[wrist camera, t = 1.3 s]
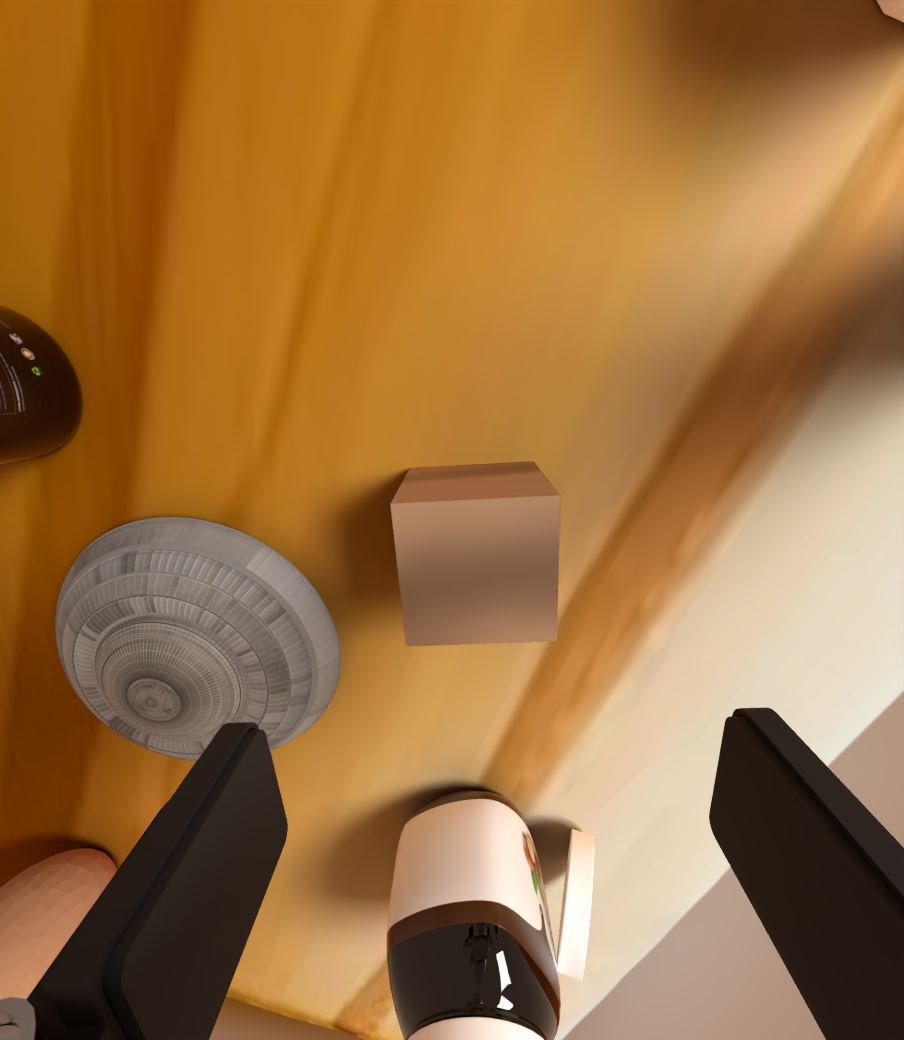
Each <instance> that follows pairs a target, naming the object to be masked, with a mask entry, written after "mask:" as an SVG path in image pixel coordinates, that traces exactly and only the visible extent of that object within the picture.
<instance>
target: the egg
mask: <svg viewBox="0 0 904 1040" xmlns="http://www.w3.org/2000/svg"><path fill="white" fill-rule="evenodd" d="M116 872H117V868H116V866H115V864H114V862H113V861H112V860H111V859H110V858H109V857H108V856H107V855H106V854H105V853H104V852H101V851H98V850H95V849H86V848H80V849H74V850H69V851H66V852H62V853H59V854H56V855H53V856H51V857H49V858H47V859H45V860H43V861H41V862H38V863H36V864H34V865H32V866H30V867H29V868H27V869H26V870H24V871H22V872H21V873H19V874H18V875H17V876H15V877H14V878H12V879H11V880H10V881H8V882H7V883H6V884H5V885H3V886H2V887H1V888H0V1000H1V999H5V998H9V997H15V998H23V999H27V998H28V996H29V995H30V993H31V992H32V991H33V989H34V988H35V986H36V985H37V984H38V982H39V981H40V979H41V978H42V976H43V975H44V974H45V972H46V971H47V969H48V968H49V967H50V965H51V964H52V962H53V961H54V959H55V958H56V957H57V955H58V954H59V952H60V951H61V950H62V948H63V947H64V945H65V944H66V943H67V941H68V940H69V938H70V937H71V935H72V934H73V933H74V931H75V930H76V928H77V927H78V926H79V924H80V923H81V921H82V920H83V919H84V917H85V916H86V914H87V913H88V911H89V910H90V909H91V907H92V906H93V904H94V903H95V902H96V900H97V899H98V897H99V896H100V894H101V893H102V892H103V890H104V889H105V887H106V886H107V885H108V883H109V882H110V880H111V879H112V878H113V876H114V875H115V873H116Z"/></svg>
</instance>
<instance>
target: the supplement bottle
mask: <svg viewBox="0 0 904 1040" xmlns="http://www.w3.org/2000/svg"><path fill="white" fill-rule="evenodd" d="M81 412H82V393H81V387H80V383H79V380H78V377H77V374H76V372H75V370H74V367H73V365H72V364H71V362H70V360H69V358H68V357H67V355H66V354H65V352H64V351H63V350H62V348H61V347H60V346H59V345H58V343H57V342H56V341H55V340H54V339H53V338H52V337H51V336H50V335H49V334H48V333H47V332H46V331H45V330H44V329H42V328H41V327H40V326H39V325H37V324H36V323H35V322H33V321H32V320H30V319H29V318H27V317H26V316H24V315H22V314H20V313H18V312H16V311H14V310H12V309H9V308H7V307H4V306H1V305H0V465H1V464H6V463H11V462H15V461H20V460H24V459H29V458H33V457H38V456H41V455H44V454H48V453H50V452H52V451H55V450H56V449H58V448H59V447H61V446H62V445H64V444H65V443H66V442H67V441H68V440H69V439H70V438H71V436H72V435H73V434H74V432H75V430H76V428H77V426H78V424H79V421H80V417H81Z"/></svg>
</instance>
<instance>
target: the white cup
mask: <svg viewBox="0 0 904 1040" xmlns="http://www.w3.org/2000/svg"><path fill="white" fill-rule="evenodd" d="M876 1H877V3H878V4H879V6H880V8H881V10H882V11H883V13H884V14H886V15H888V16H890V17H892V18H895V19H897V20H899V21H901V22H903V23H904V0H876Z"/></svg>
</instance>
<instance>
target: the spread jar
mask: <svg viewBox="0 0 904 1040" xmlns="http://www.w3.org/2000/svg"><path fill="white" fill-rule="evenodd" d="M593 869H594V837H593V836H592V835H589V834H586V833H583V832H580V831H577V830H574V829H572V831H571V836H570V843H569V851H568V858H567V867H566V875H565V884H564V892H563V901H562V911H561V920H560V930H559V940H558V950H557V963H556V956H555V950H554V944H553V937H552V931H551V925H550V918H549V912H548V906H547V900H546V893H545V888H544V883H543V878H542V873H541V869H540V864H539V860H538V856H537V852H536V849H535V845H534V842H533V839H532V836H531V833H530V830H529V828H528V825H527V823H526V821H525V819H524V817H523V815H522V814H521V812H520V811H519V810H518V808H517V807H516V806H515V805H514V804H513V803H512V802H510V801H509V800H508V799H506V798H504V797H502V796H500V795H498V794H495V793H491V792H486V791H477V790H467V791H459V792H455V793H451V794H448V795H445V796H443V797H441V798H438V799H436V800H434V801H432V802H431V803H429V804H427V805H426V806H424V807H423V808H421V809H420V810H419V811H417V812H416V813H415V814H414V815H413V816H412V817H411V818H410V819H409V820H408V822H407V823H406V824H405V826H404V828H403V831H402V833H401V836H400V840H399V845H398V849H397V855H396V862H395V869H394V876H393V883H392V890H391V897H390V906H389V915H388V928H387V967H388V974H389V982H390V989H391V993H392V998H393V1002H394V1007H395V1011H396V1015H397V1018H398V1022H399V1025H400V1028H401V1031H402V1034H403V1037H404V1040H554V1038H555V1036H556V1033H557V1029H558V1025H559V1020H560V1009H561V1003H560V987H559V978H558V973H561V974H563V975H565V976H567V977H569V978H572V979H574V980H576V981H578V982H581V981H582V978H583V973H584V967H585V960H586V951H587V943H588V934H589V923H590V912H591V900H592V886H593Z"/></svg>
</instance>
